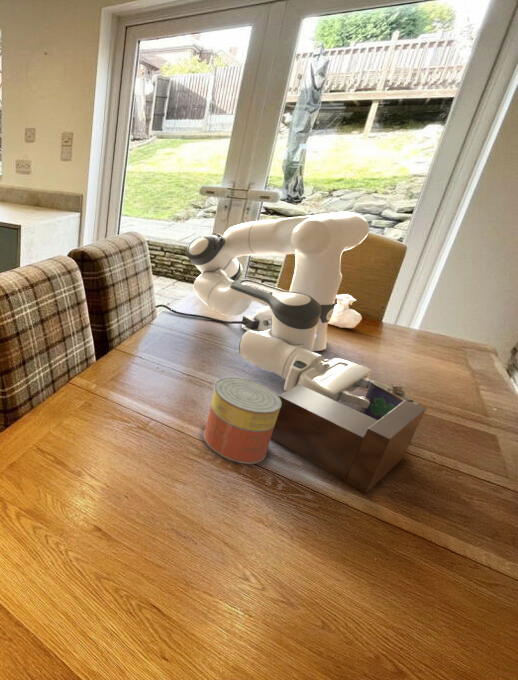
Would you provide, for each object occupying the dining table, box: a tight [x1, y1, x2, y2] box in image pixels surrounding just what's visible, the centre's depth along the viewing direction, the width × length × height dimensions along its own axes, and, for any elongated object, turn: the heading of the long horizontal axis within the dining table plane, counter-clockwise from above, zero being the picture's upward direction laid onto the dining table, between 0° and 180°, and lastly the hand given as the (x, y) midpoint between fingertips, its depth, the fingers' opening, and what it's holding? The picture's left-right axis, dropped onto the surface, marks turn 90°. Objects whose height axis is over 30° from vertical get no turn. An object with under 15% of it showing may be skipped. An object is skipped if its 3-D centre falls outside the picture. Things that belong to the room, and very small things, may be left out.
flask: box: [358, 380, 420, 420], centre depth 83 cm, size 9×3×11 cm, turn 8°
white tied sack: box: [328, 293, 363, 329], centre depth 132 cm, size 12×8×11 cm
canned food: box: [203, 377, 282, 465], centre depth 78 cm, size 11×11×12 cm
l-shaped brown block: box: [270, 385, 427, 494], centre depth 77 cm, size 17×16×12 cm
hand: (377, 399), depth 84 cm, fingers open, 6 cm apart
